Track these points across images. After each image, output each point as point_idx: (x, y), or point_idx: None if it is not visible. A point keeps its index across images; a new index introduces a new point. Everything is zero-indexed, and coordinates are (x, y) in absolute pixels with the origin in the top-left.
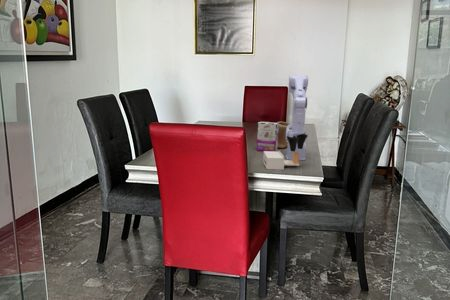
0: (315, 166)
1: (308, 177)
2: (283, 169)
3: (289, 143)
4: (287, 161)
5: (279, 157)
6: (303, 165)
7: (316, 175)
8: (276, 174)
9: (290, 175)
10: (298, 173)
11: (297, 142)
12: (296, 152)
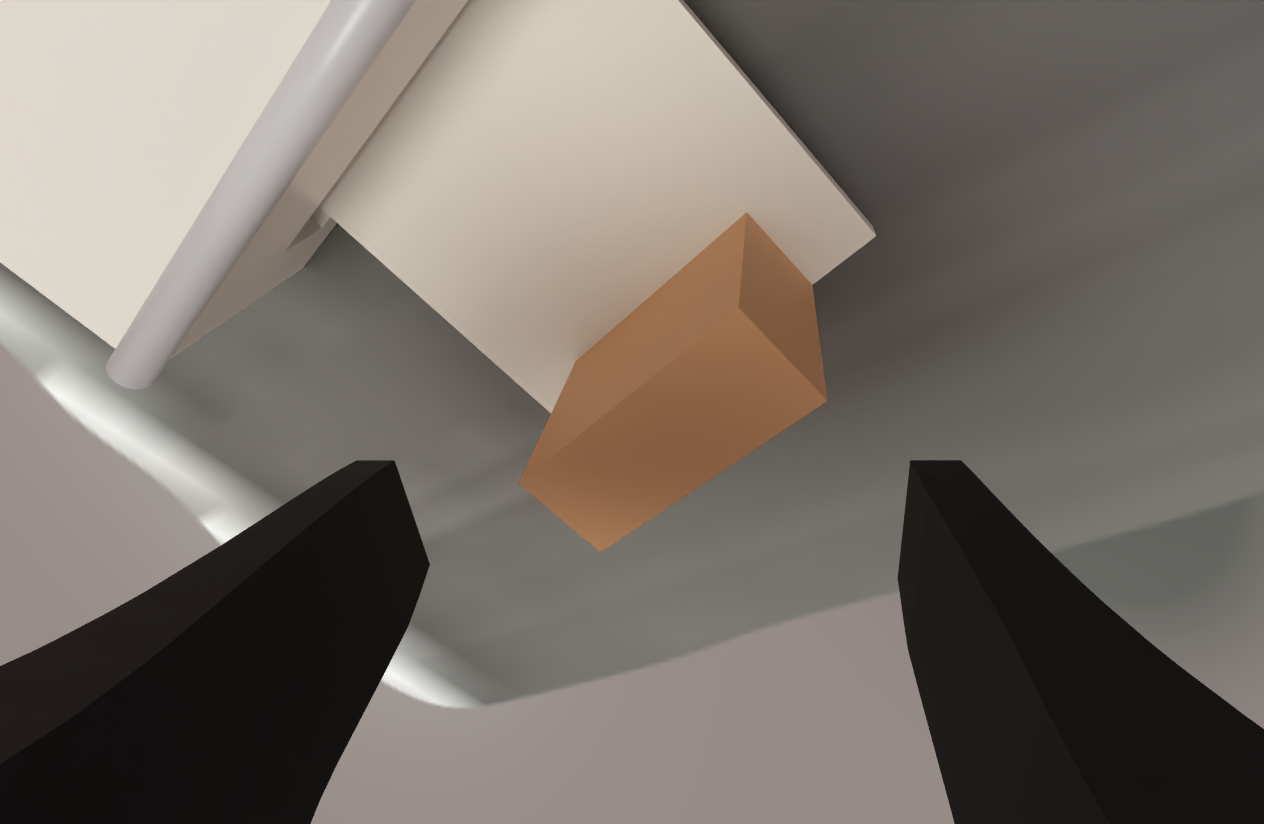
0: None
1: None
2: (299, 266)
3: (99, 630)
4: (608, 148)
5: (72, 244)
6: (878, 375)
7: (500, 682)
8: (25, 334)
9: (196, 486)
10: None
11: (991, 608)
12: (789, 398)
